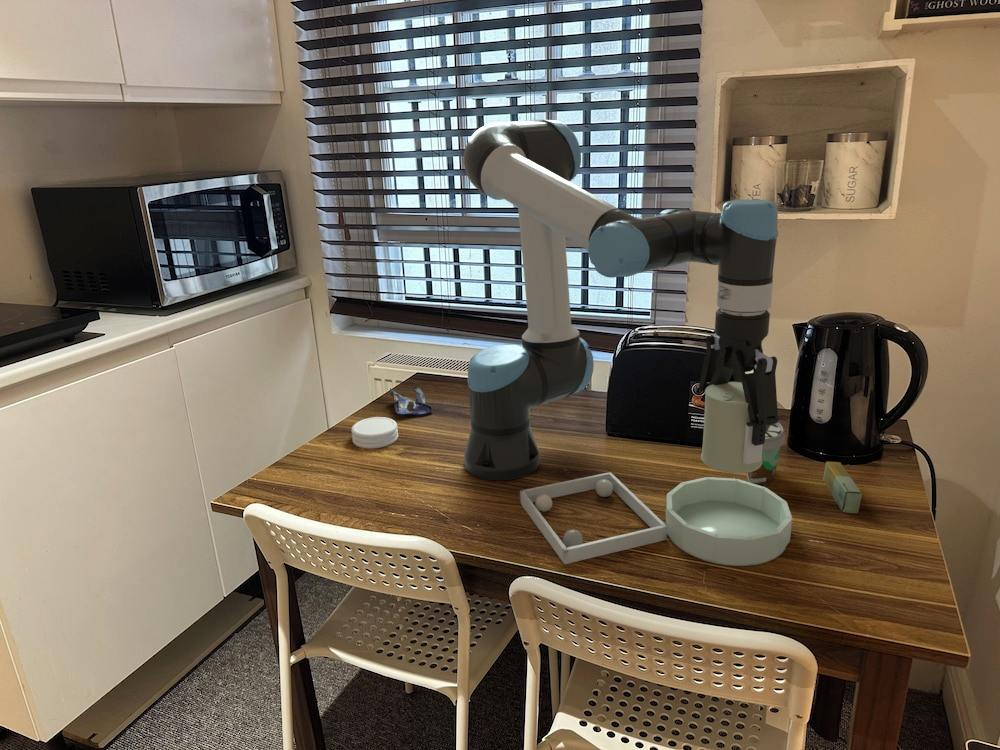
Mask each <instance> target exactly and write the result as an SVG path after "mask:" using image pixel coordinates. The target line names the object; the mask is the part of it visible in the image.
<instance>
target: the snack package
mask: <svg viewBox="0 0 1000 750" xmlns="http://www.w3.org/2000/svg"><path fill="white" fill-rule="evenodd" d="M412 388H413V390H414V393H415V400H412V399H411V398H410V397H408V396H402V395H401V394H400V393H397V392H396V391H395V390H394V389H392V388H389V393H390V395H391V397H392V399H393V401H394V404H393V405H394V411H395V413H396V416H398V417H402V416H406V415H412V416H413V417H425V416H426V415H427V416H428V415H432V414H433V408H432V406H430V405H427V404H426V396H425V394H424V392H423V391H422V389H421V388H420V387H418V386H417V385H416V386H414V387H412V386H411V387H410V389H412ZM410 402H411V403H413V407H412V409H413V410H412V411H410V410H409V409H408V405H409V403H410Z"/></svg>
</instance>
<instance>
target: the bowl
mask: <svg viewBox="0 0 1000 750" xmlns="http://www.w3.org/2000/svg"><path fill="white" fill-rule="evenodd" d="M665 501H666V502H665V525H667V537H668V538H669V539H670V541H671V542H672V543H673V544H674V545H675V546H677V548H679V550H682V551H683V552H685V553H686V554H689V555H690V556H692V557H694V558H697V559H700V560H702V561H705V562H708V563H712V564H717V565H723V566H729V567H730V566H731V567H746V566H747V567H750V566H758V565H762V564H765V563H768V562H772V561H773V560H775V559H777V558H778V557H780V556H781V555H782V554H783V553H784V552H785V550H786V549H787V546H788V544H789V543H790V542H791V534H792V527H793V526H792V525H793V515H792V513H791V511H790V508H789V505H788V501H786V500H785V499H783V498H782V497H780V496H779V495H778V494H776V493H775V492H774V491H772V490H770V489H769V488H767V487H765V486H764V485H763V486H759V485H756V484H753V483H749V482H748V481H746V480H743V479H739V478H730V477H729V478H728V477H714V476H713V477H712V476H711V477H709V476H705V477H701V478H696V479H695V478H694V479H692V480H687V481H683V482H680V483H679V484H678V485H677V486H675V487H674V488H672V489H671V491H669V492H668V493H667V494H666V498H665Z"/></svg>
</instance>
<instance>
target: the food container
mask: <svg viewBox="0 0 1000 750" xmlns="http://www.w3.org/2000/svg"><path fill="white" fill-rule="evenodd" d="M783 427H784V426H782V424H781V423H780V422H778V423H776V424H771V425H767V426H766V433H765V442H764V444H763V447H762V465H761V467H760V468H759V469H757V470H755V471H753V472H749V473H747V474H746V478H747V477H748V478H747V482H748V481H749V483H753V484H756V485H759V486H761V485H763V486H766V485H769V484H771V483H772V482H774V480H775V478H774V477H775V476H776V472H777V467H778V461H779V457H780V451H781V447H782V446H783V445H785V442H786V432H785V429H784V428H783Z"/></svg>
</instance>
